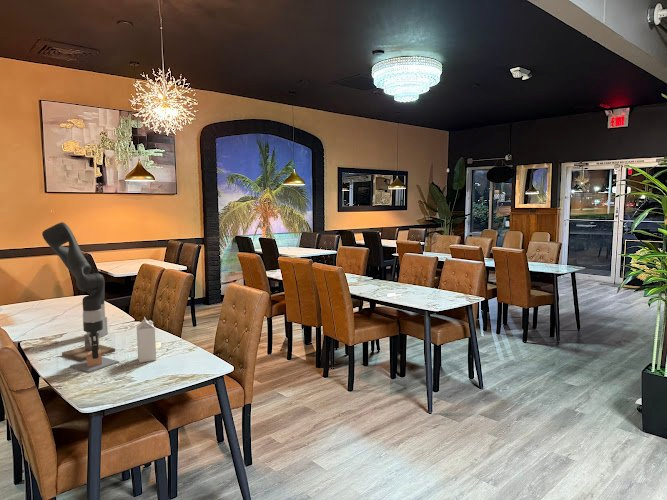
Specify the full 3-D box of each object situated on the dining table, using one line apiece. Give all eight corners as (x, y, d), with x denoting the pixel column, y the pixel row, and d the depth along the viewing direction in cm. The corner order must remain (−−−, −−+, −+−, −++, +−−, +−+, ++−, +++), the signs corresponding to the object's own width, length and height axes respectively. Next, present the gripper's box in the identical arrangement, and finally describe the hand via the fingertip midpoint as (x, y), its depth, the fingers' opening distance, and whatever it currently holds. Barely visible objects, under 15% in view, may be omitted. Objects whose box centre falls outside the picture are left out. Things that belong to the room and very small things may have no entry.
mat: (100, 357, 210) (99, 356, 210) (119, 362, 204) (119, 361, 204) (69, 366, 198) (69, 365, 198) (89, 372, 191) (89, 371, 191)
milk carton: (139, 363, 203) (137, 321, 201) (137, 358, 209) (136, 317, 208) (156, 360, 206) (154, 319, 205) (154, 355, 213) (152, 315, 211)
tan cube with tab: (86, 362, 202) (86, 349, 201) (100, 360, 205) (100, 347, 204) (87, 366, 197) (86, 353, 197) (102, 364, 200) (101, 351, 199)
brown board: (94, 346, 227) (93, 328, 226) (115, 351, 219) (114, 333, 218) (62, 355, 213) (60, 336, 212) (82, 361, 205) (81, 341, 205)
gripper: (82, 317, 203) (84, 352, 205) (83, 324, 191) (85, 362, 193) (101, 314, 207) (103, 349, 209) (103, 322, 195) (105, 359, 197)
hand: (94, 355), depth 201 cm, fingers open, 8 cm apart
